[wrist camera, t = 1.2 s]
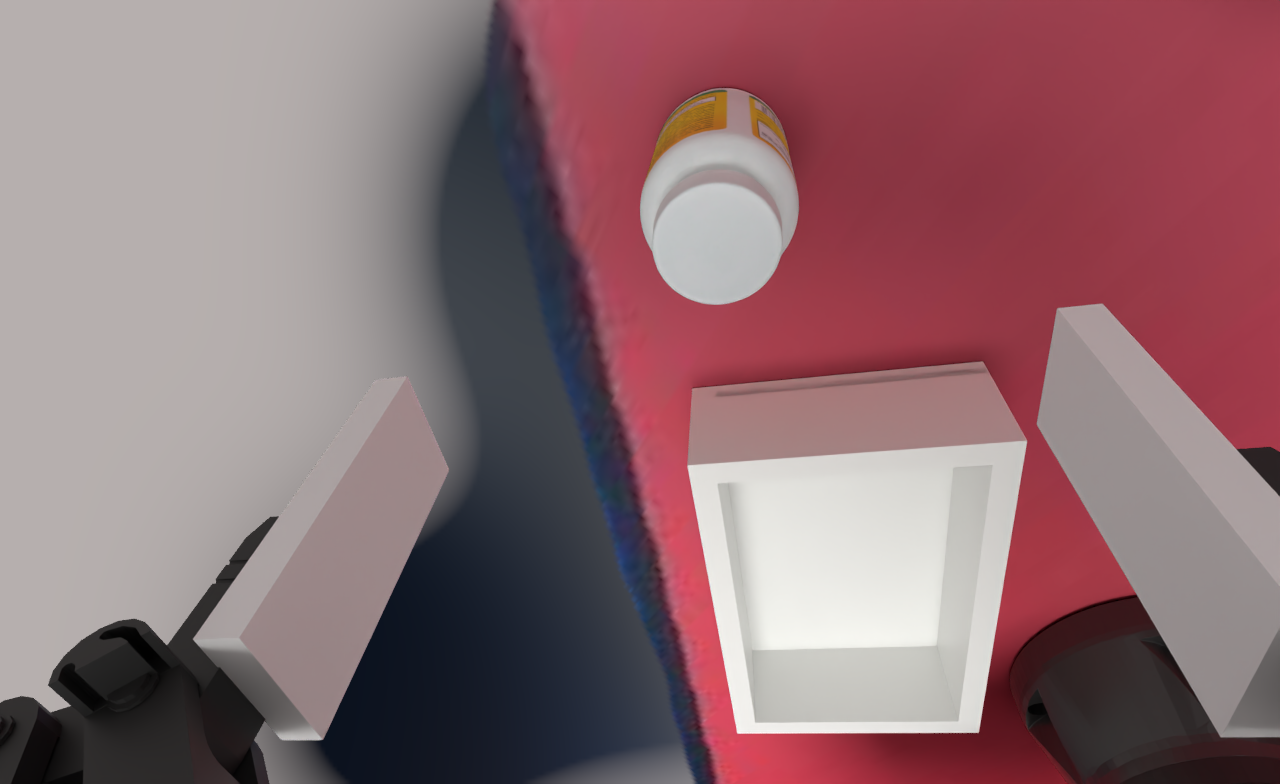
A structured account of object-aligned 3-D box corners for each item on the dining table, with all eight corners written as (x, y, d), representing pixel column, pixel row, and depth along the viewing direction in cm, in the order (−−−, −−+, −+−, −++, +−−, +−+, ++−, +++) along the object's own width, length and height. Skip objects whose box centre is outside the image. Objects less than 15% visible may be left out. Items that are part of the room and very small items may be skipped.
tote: (692, 388, 36) (687, 465, 31) (982, 361, 33) (1027, 440, 29) (735, 648, 48) (737, 733, 43) (951, 643, 46) (978, 732, 41)
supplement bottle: (804, 102, 28) (836, 184, 20) (762, 228, 31) (776, 341, 23) (671, 70, 27) (651, 139, 20) (643, 199, 31) (615, 304, 23)
